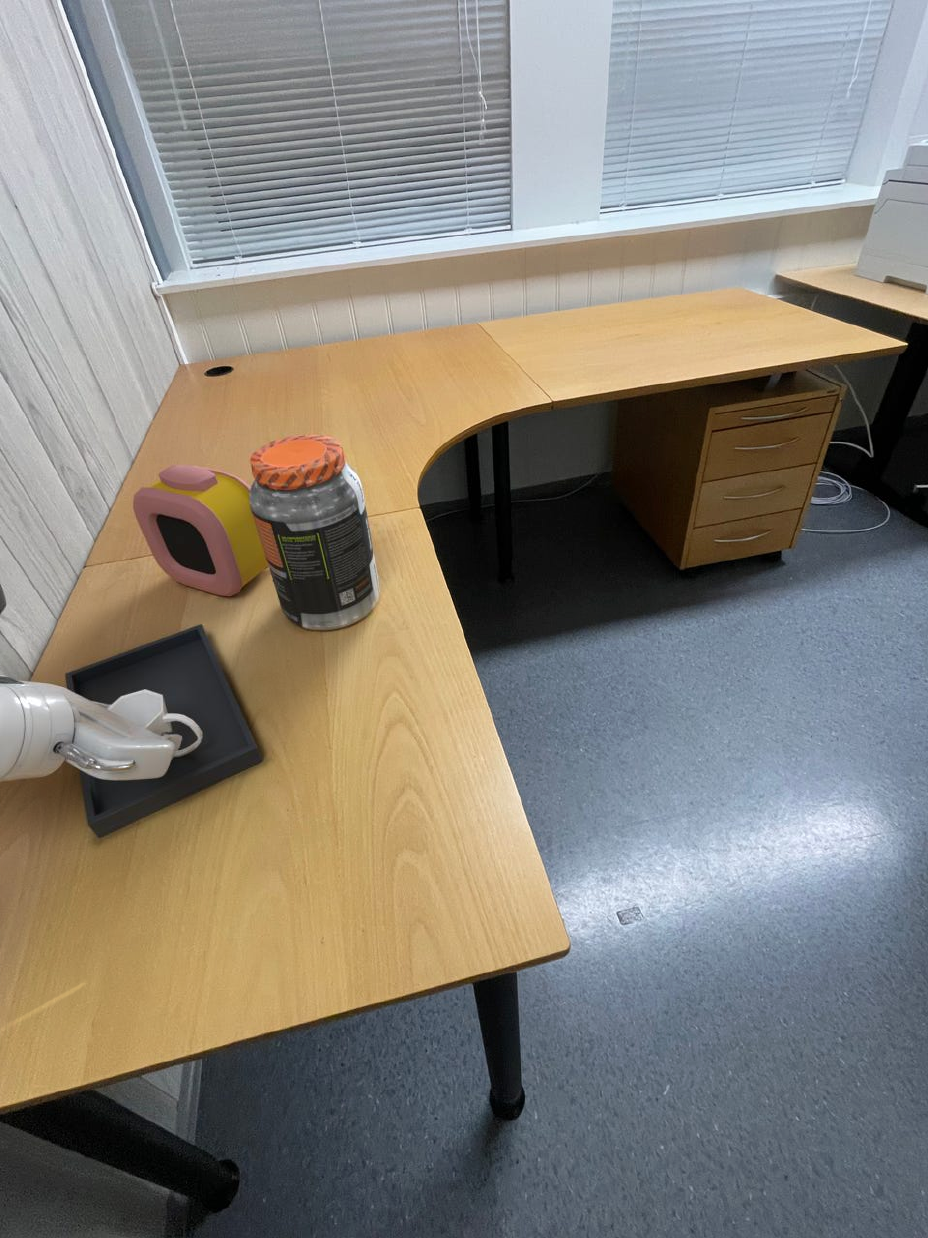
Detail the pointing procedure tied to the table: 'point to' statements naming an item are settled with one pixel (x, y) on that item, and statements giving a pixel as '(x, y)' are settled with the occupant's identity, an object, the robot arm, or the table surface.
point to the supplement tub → (314, 531)
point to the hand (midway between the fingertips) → (148, 726)
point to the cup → (153, 715)
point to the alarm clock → (201, 528)
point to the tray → (188, 689)
